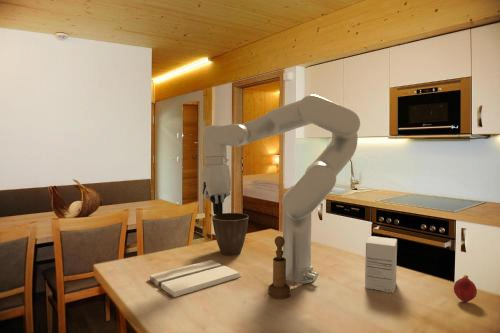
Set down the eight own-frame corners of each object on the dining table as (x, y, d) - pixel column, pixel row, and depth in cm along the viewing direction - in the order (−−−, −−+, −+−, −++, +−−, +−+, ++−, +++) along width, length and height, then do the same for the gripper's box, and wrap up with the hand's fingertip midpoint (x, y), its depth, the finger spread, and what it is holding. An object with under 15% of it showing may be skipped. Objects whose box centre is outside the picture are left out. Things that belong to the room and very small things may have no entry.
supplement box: (368, 278, 123) (369, 235, 122) (396, 283, 119) (397, 238, 118) (363, 288, 115) (365, 242, 113) (394, 293, 111) (395, 245, 110)
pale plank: (239, 277, 120) (239, 272, 120) (174, 297, 105) (174, 291, 105) (224, 269, 127) (224, 265, 127) (161, 287, 112) (161, 282, 112)
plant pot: (204, 256, 146) (204, 217, 145) (227, 247, 158) (227, 211, 157) (234, 263, 137) (233, 222, 136) (255, 253, 150) (255, 215, 148)
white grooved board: (241, 280, 121) (241, 272, 121) (171, 302, 105) (171, 293, 104) (213, 266, 134) (213, 259, 134) (147, 284, 118) (146, 275, 117)
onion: (476, 308, 101) (477, 280, 100) (452, 303, 104) (453, 276, 103) (476, 300, 106) (477, 274, 105) (453, 296, 109) (454, 270, 108)
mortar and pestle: (275, 301, 106) (275, 240, 104) (264, 292, 111) (264, 235, 110) (294, 296, 109) (294, 237, 107) (282, 288, 114) (283, 232, 113)
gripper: (226, 160, 132) (228, 209, 133) (191, 162, 122) (193, 216, 123) (239, 160, 126) (241, 212, 127) (204, 163, 116) (206, 219, 117)
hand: (218, 214), depth 125 cm, fingers closed
